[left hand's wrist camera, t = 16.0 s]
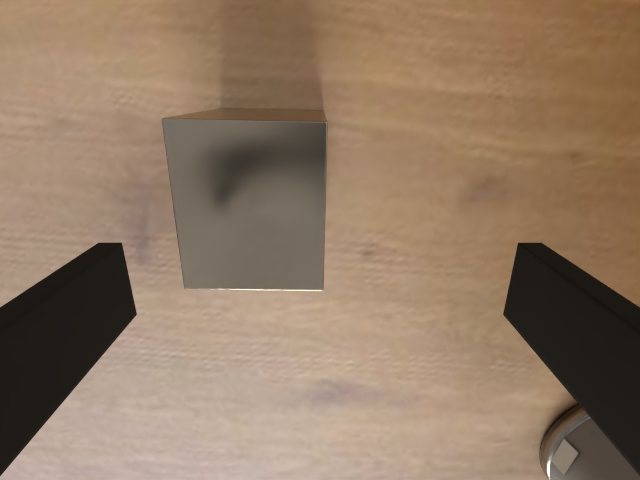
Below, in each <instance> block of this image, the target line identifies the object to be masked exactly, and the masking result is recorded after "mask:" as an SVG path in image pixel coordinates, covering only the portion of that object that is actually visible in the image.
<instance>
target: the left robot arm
mask: <svg viewBox="0 0 640 480" xmlns="http://www.w3.org/2000/svg"><path fill="white" fill-rule="evenodd" d="M136 315H137V313H136V309H135V304H134V299H133V294H132V289H131V285H130V280H129V275H128V270H127V266H126V261H125V256H124V251H123V246H122V243H98V244H96V245H95V246H93V247H92V248H90V249H88V250H87V251H85V252H84V253H82V254H81V255H79V256H78V257H76V258H75V259H73V260H72V261H70V262H69V263H67V264H66V265H64V266H63V267H61V268H60V269H58V270H57V271H55V272H54V273H52V274H50V275H49V276H47V277H46V278H44V279H43V280H41V281H40V282H38V283H37V284H35V285H34V286H32V287H31V288H29V289H28V290H26V291H25V292H23V293H22V294H20V295H19V296H17V297H15V298H14V299H12V300H11V301H9V302H8V303H6V304H5V305H3V306H2V307H0V476H1V475H2V473H3V472H4V471H5V470H6V469H7V467H8V466H9V465H10V464H11V463H12V462H13V460H14V459H15V458H16V457H17V456H18V454H19V453H20V452H21V451H22V450H23V449H24V447H25V446H26V445H27V444H28V443H29V441H30V440H31V439H32V438H33V437H34V436H35V434H36V433H37V432H38V431H39V430H40V428H41V427H42V426H43V425H44V424H45V422H46V421H47V420H48V419H49V418H50V417H51V415H52V414H53V413H54V412H55V411H56V409H57V408H58V407H59V406H60V405H61V404H62V402H63V401H64V400H65V399H66V398H67V396H68V395H69V394H70V393H71V392H72V390H73V389H74V388H75V387H76V386H77V385H78V383H79V382H80V381H81V380H82V379H83V377H84V376H85V375H86V374H87V373H88V372H89V370H90V369H91V368H92V367H93V366H94V364H95V363H96V362H97V361H98V360H99V359H100V357H101V356H102V355H103V354H104V353H105V351H106V350H107V349H108V348H109V347H110V345H111V344H112V343H113V342H114V341H115V340H116V338H117V337H118V336H119V335H120V334H121V332H122V331H123V330H124V329H125V328H126V327H127V325H128V324H129V323H130V322H131V321H132V319H133V318H134V317H135V316H136ZM503 315H504V316H505V317H506V318H507V319H508V321H509V322H510V323H511V324H512V325H513V327H514V328H515V329H516V330H517V331H518V332H519V334H520V335H521V336H522V337H523V338H524V340H525V341H526V342H527V343H528V344H529V345H530V347H531V348H532V349H533V350H534V351H535V353H536V354H537V355H538V356H539V357H540V359H541V360H542V361H543V362H544V363H545V364H546V366H547V367H548V368H549V369H550V370H551V372H552V373H553V374H554V375H555V376H556V377H557V379H558V380H559V381H560V382H561V383H562V385H563V386H564V387H565V388H566V389H567V390H568V392H569V393H570V394H571V395H572V396H573V398H574V399H575V400H576V401H577V402H578V404H579V405H577V406H576V407H574V408H572V409H571V410H569V411H568V412H567V413H565V414H564V415H563V416H562V417H560V418H559V419H558V420H557V421H556V422H555V423H554V425H553V426H552V427H551V428H550V429H549V431H548V432H547V434H546V436H545V437H544V440H543V442H542V445H541V448H540V463H541V467H542V469H543V471H544V473H545V474H546V476H547V478H548V479H549V480H640V307H638V306H637V305H635V304H634V303H632V302H631V301H629V300H628V299H626V298H625V297H623V296H621V295H620V294H618V293H617V292H615V291H614V290H612V289H611V288H609V287H608V286H606V285H605V284H603V283H602V282H600V281H599V280H597V279H596V278H594V277H593V276H591V275H590V274H588V273H586V272H585V271H583V270H582V269H580V268H579V267H577V266H576V265H574V264H573V263H571V262H570V261H568V260H567V259H565V258H564V257H562V256H561V255H559V254H558V253H556V252H555V251H553V250H552V249H550V248H548V247H547V246H545V245H544V244H542V243H518V246H517V251H516V256H515V261H514V266H513V270H512V275H511V280H510V285H509V289H508V294H507V299H506V304H505V309H504V313H503Z"/></svg>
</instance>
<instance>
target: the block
mask: <svg viewBox="0 0 640 480" xmlns="http://www.w3.org/2000/svg"><path fill="white" fill-rule="evenodd" d="M162 125H163V132H164V140H165V147H166V155H167V162H168V170H169V177H170V185H171V192H172V199H173V207H174V214H175V222H176V229H177V237H178V244H179V252H180V259H181V267H182V274H183V282H184V288H185V289H232V290H301V291H323V285H324V246H325V208H326V169H327V130H328V122H327V119H326V116H325V113H324V111H323V110H277V109H227V108H220V109H214V110H208V111H202V112H196V113H190V114H184V115H178V116H172V117H166V118H162Z"/></svg>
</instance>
